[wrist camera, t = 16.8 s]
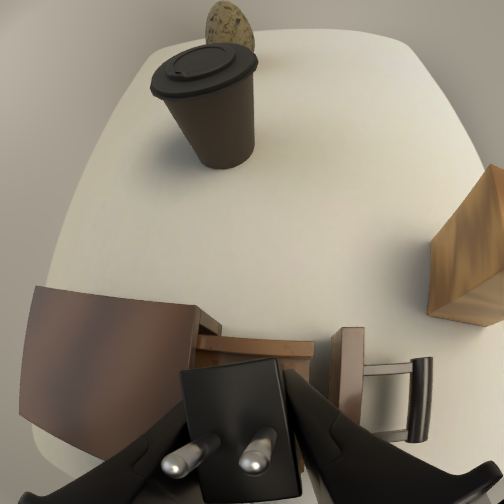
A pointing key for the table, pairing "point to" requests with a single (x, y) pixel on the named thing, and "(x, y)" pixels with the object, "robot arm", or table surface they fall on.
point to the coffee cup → (211, 100)
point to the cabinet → (105, 365)
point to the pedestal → (471, 257)
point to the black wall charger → (238, 434)
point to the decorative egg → (228, 26)
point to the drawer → (333, 373)
